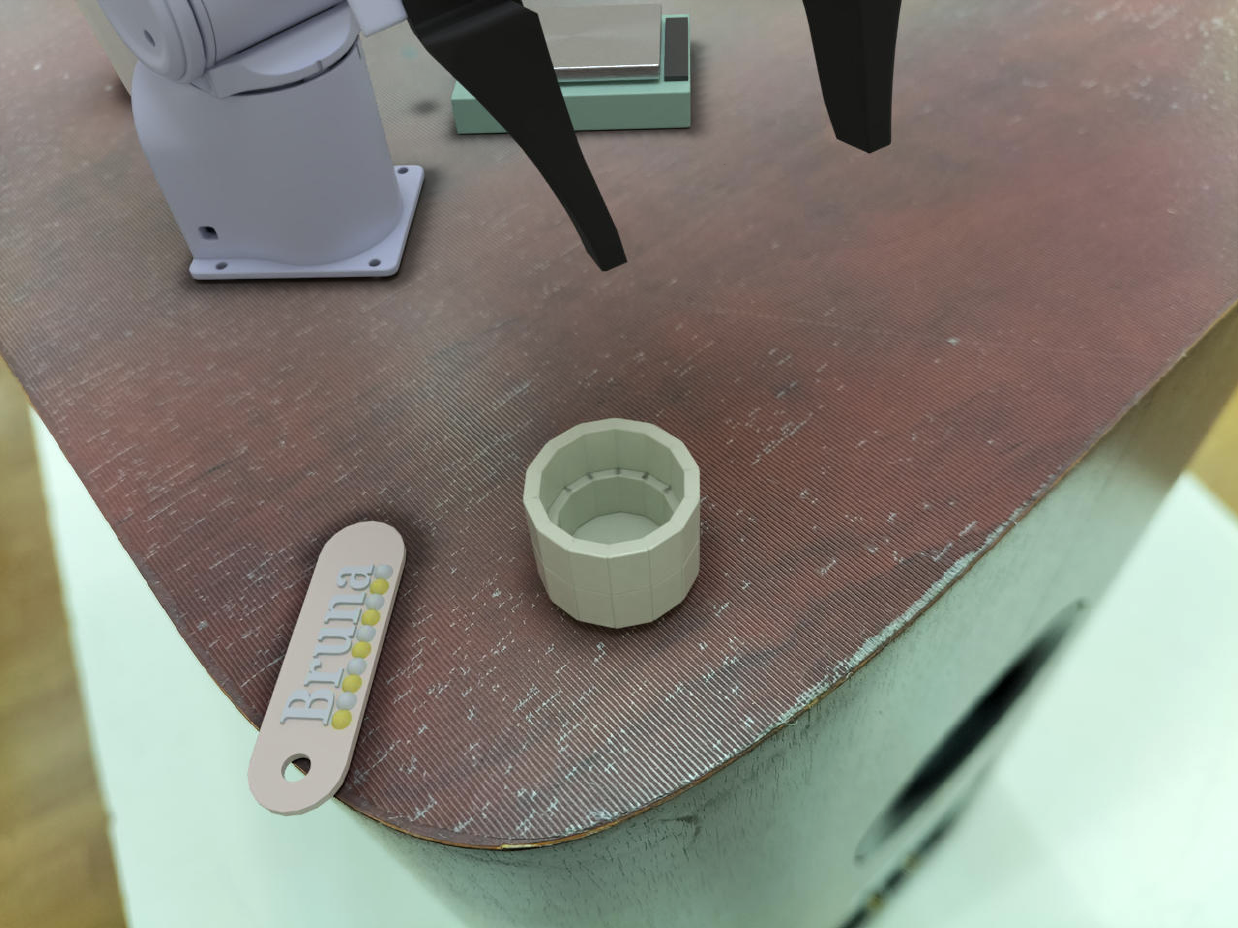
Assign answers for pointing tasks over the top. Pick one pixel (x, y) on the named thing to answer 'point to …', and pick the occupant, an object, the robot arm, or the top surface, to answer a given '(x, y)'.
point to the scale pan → (603, 41)
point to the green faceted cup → (615, 521)
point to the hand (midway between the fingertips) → (736, 199)
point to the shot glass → (110, 41)
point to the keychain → (328, 669)
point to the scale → (612, 94)
